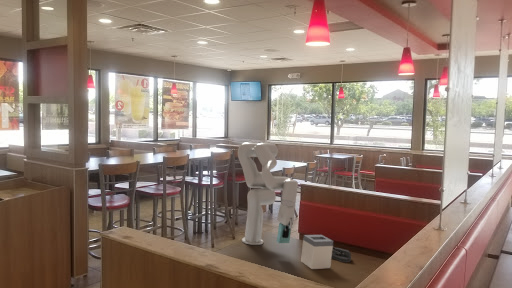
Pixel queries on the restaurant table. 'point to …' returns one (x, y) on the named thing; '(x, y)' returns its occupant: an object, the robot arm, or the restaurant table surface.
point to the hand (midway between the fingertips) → (283, 236)
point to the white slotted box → (316, 251)
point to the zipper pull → (341, 255)
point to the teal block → (280, 234)
